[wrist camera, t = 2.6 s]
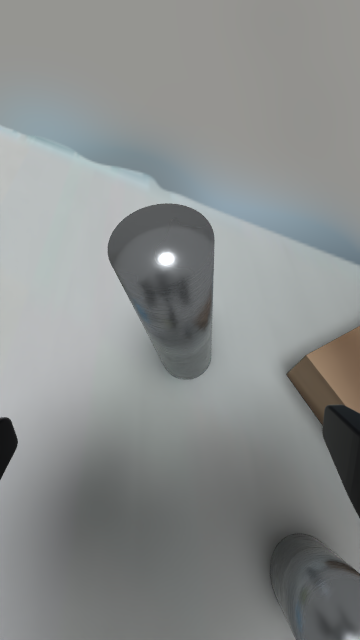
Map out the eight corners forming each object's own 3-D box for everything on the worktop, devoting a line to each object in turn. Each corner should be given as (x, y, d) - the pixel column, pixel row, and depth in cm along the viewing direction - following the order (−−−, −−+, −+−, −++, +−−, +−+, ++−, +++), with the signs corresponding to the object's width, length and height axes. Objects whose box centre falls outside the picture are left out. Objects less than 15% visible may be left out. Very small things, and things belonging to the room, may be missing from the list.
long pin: (175, 388, 20) (130, 304, 9) (154, 345, 22) (94, 228, 10) (220, 364, 21) (235, 255, 9) (196, 324, 22) (183, 190, 11)
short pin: (300, 646, 14) (360, 775, 8) (256, 556, 15) (282, 613, 10) (362, 603, 14) (456, 697, 9) (312, 520, 16) (366, 555, 10)
